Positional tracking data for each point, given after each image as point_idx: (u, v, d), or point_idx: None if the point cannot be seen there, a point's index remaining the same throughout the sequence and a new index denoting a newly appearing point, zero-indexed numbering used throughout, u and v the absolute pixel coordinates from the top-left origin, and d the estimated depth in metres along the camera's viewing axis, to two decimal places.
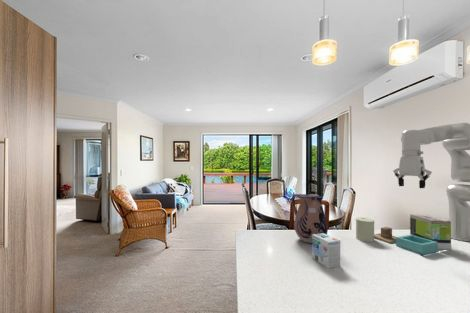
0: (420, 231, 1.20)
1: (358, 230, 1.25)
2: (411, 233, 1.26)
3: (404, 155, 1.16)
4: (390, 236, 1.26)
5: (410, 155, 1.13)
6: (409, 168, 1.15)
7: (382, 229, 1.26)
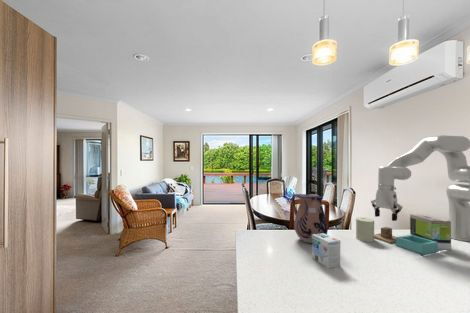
0: (420, 231, 1.20)
1: (358, 230, 1.25)
2: (411, 233, 1.26)
3: (379, 189, 1.27)
4: (390, 236, 1.26)
5: (384, 190, 1.25)
6: (383, 201, 1.26)
7: (382, 229, 1.26)
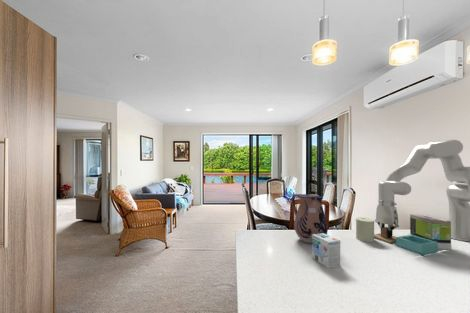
0: (420, 231, 1.20)
1: (358, 230, 1.25)
2: (411, 233, 1.26)
3: (380, 204, 1.27)
4: None
5: (385, 205, 1.24)
6: (384, 216, 1.26)
7: (382, 229, 1.26)
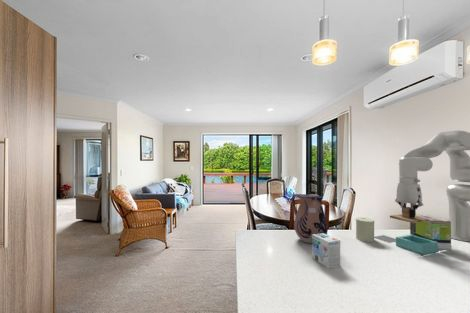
0: (420, 231, 1.20)
1: (358, 230, 1.25)
2: (411, 233, 1.26)
3: (401, 182, 1.17)
4: None
5: (407, 183, 1.14)
6: (406, 195, 1.16)
7: (404, 209, 1.16)
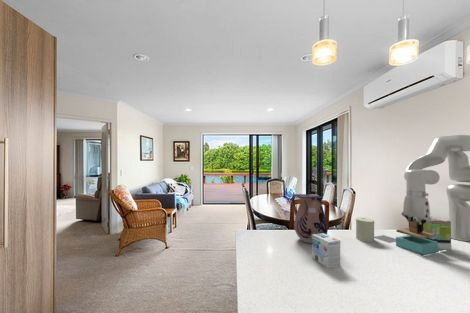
0: None
1: (358, 230, 1.25)
2: None
3: (409, 195, 1.13)
4: None
5: (415, 196, 1.11)
6: (413, 209, 1.12)
7: (411, 223, 1.13)
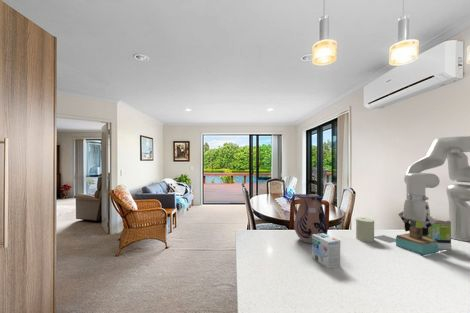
0: None
1: (358, 230, 1.25)
2: None
3: (409, 199, 1.13)
4: (420, 236, 1.12)
5: (415, 200, 1.11)
6: (413, 213, 1.12)
7: (411, 229, 1.13)
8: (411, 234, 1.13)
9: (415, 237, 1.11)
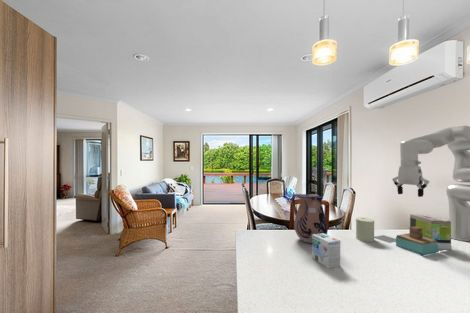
0: None
1: (358, 230, 1.25)
2: None
3: (403, 165, 1.20)
4: (420, 236, 1.12)
5: (409, 165, 1.18)
6: (407, 177, 1.20)
7: (411, 229, 1.13)
8: (411, 234, 1.13)
9: (415, 237, 1.11)
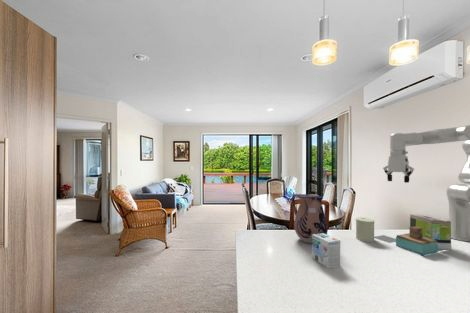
0: None
1: (358, 230, 1.25)
2: None
3: (392, 154, 1.36)
4: (420, 236, 1.12)
5: (397, 154, 1.34)
6: (396, 165, 1.35)
7: (411, 229, 1.13)
8: (411, 234, 1.13)
9: (415, 237, 1.11)
